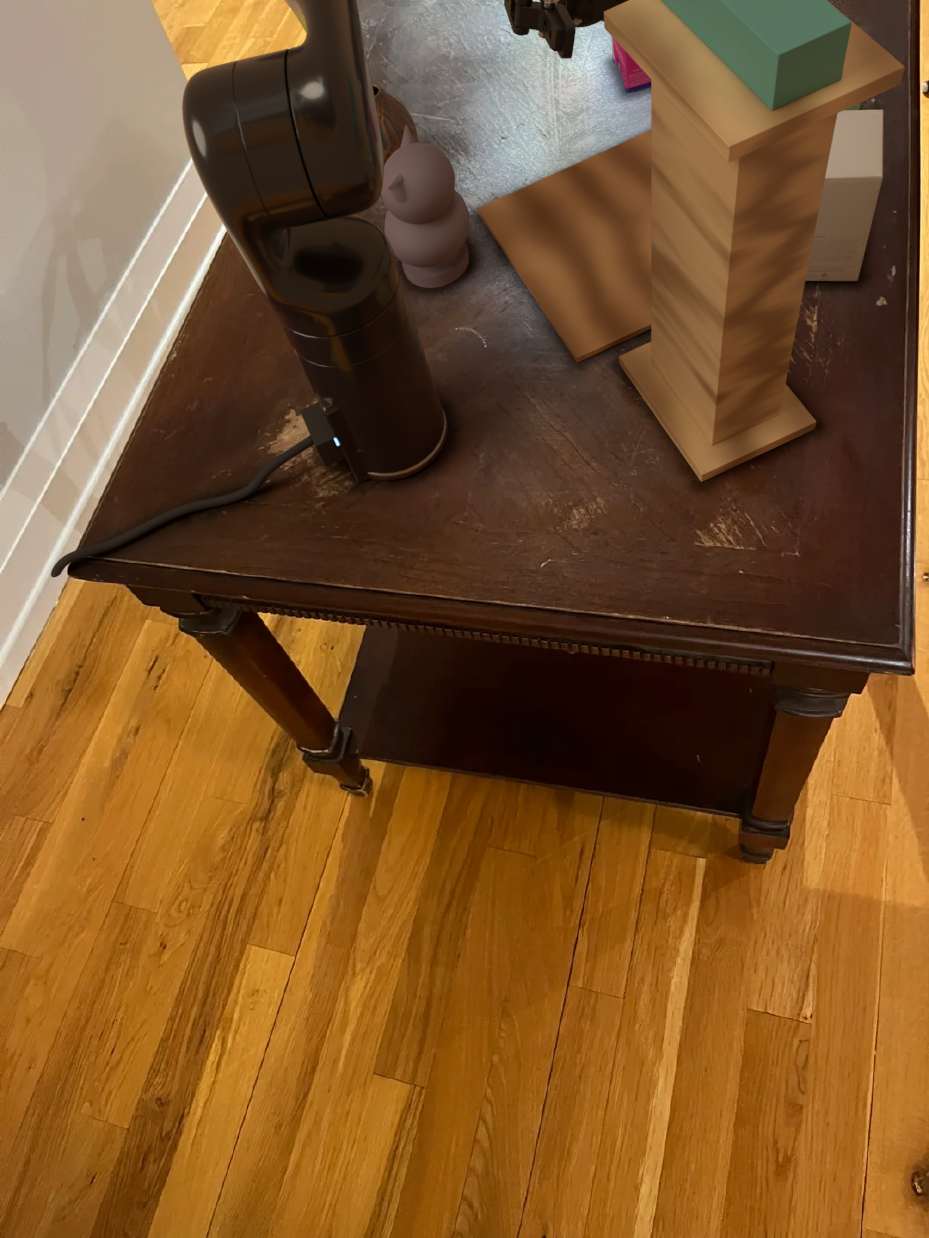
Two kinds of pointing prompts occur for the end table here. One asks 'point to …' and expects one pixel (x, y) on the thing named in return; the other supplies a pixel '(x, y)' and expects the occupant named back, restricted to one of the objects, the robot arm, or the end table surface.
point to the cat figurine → (425, 214)
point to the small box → (848, 196)
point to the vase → (392, 121)
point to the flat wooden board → (585, 245)
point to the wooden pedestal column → (729, 235)
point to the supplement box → (629, 69)
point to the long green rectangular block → (772, 42)
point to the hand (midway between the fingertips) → (626, 43)
